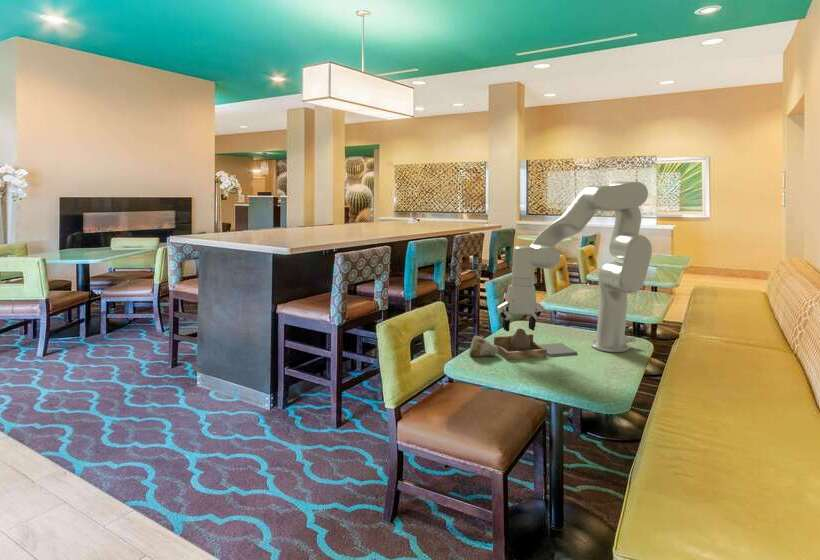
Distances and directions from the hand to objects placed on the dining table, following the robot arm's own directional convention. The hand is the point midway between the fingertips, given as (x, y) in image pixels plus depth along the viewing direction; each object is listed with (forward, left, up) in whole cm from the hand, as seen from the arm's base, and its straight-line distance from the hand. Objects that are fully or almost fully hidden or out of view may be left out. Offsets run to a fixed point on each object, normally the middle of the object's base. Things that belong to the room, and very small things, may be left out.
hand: (518, 329), depth 185 cm
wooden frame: (-1, 0, -9) cm, 9 cm away
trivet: (-15, 0, -9) cm, 17 cm away
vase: (-1, 0, -9) cm, 9 cm away
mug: (+13, -1, -9) cm, 15 cm away
